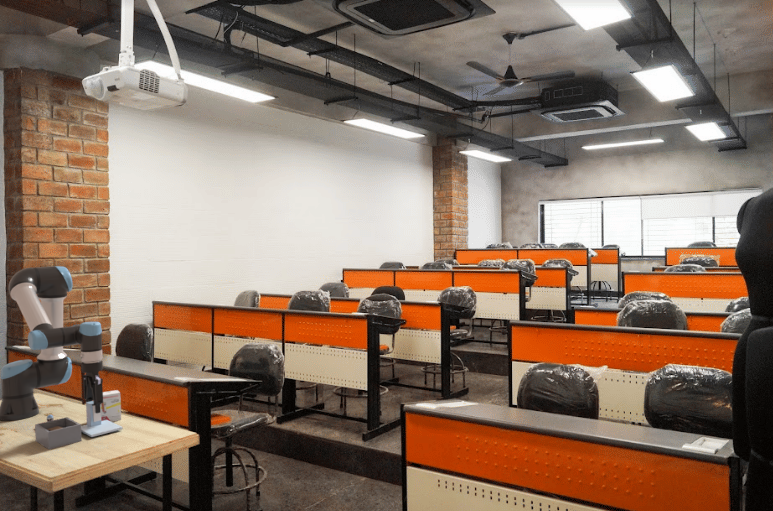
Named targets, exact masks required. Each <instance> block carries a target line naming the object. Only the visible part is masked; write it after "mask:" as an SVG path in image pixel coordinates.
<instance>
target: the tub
mask: <svg viewBox="0 0 773 511" xmlns="http://www.w3.org/2000/svg"><path fill="white" fill-rule="evenodd" d="M34 426H35V427H34V429H35V430H34V431H35V435H34V436H35V442H36V443H37V444H40V445H41V446H42V447H44V448H46V449H47V450H52V449H56V448H61V447H64V446H68V445H71V444H77V443H81V442H82V441H83V440H82V438H83V437H82V432H81V426H82V424H81V423H79V422H77V421H76V420H74V419H71V418H70V417H68V416H67V417H61V418H59V419H58V418H57V419H54V420H53V421H48V422H47V421H45V422H44V423H43V422H40V423H36V424H34ZM57 426H59V427H62V428H61V429H57V430H53V431H49V430H47V429H50V428H53V427H57Z"/></svg>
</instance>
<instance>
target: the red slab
mask: <svg viewBox="0 0 773 511" xmlns="http://www.w3.org/2000/svg"><path fill="white" fill-rule="evenodd" d="M53 420H55V418H54V415H53V414H48V415H47V416H46V422H48V421H53ZM42 423H44V422H42Z"/></svg>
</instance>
